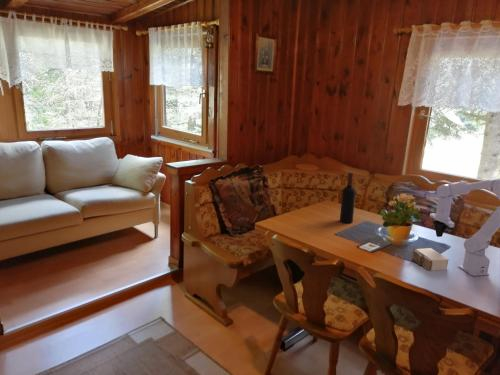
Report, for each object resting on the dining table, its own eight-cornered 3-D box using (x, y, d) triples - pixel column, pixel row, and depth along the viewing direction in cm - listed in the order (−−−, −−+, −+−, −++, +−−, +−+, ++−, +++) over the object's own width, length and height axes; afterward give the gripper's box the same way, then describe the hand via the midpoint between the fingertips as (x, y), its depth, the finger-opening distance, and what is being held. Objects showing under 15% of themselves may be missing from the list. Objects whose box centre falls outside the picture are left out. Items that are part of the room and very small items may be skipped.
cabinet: (446, 269, 165) (448, 259, 163) (426, 270, 163) (428, 260, 161) (429, 257, 176) (430, 248, 175) (410, 259, 174) (411, 249, 173)
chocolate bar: (392, 243, 191) (372, 252, 180) (392, 244, 191) (372, 253, 180) (376, 237, 198) (356, 245, 186) (376, 239, 198) (356, 247, 187)
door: (421, 266, 167) (423, 256, 166) (419, 266, 167) (421, 256, 166) (413, 258, 175) (415, 249, 173) (411, 258, 175) (413, 249, 173)
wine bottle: (337, 220, 225) (341, 172, 217) (347, 218, 228) (351, 171, 220) (345, 224, 218) (349, 175, 211) (355, 222, 221) (360, 174, 214)
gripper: (462, 213, 167) (457, 241, 170) (440, 204, 180) (436, 230, 184) (448, 214, 165) (443, 242, 169) (427, 204, 179) (423, 231, 183)
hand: (439, 236), depth 176 cm, fingers closed
